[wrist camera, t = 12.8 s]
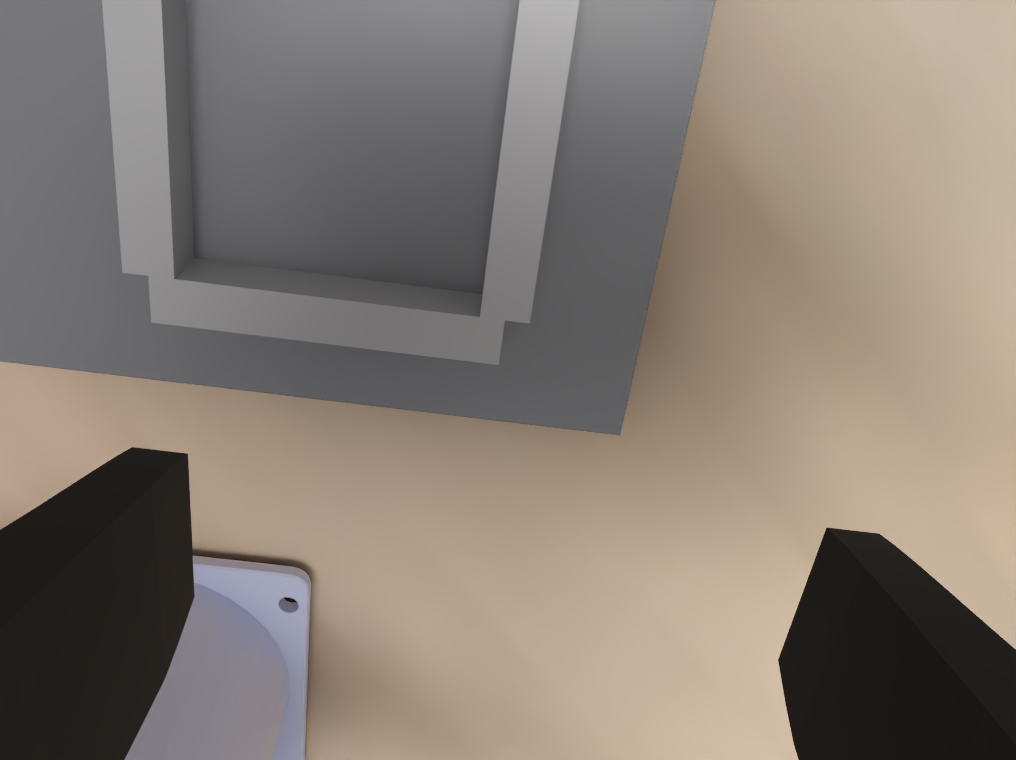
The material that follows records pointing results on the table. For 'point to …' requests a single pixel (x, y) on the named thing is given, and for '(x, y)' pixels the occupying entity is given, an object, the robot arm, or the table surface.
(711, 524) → the table surface
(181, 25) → the dock board
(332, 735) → the table surface
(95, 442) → the table surface
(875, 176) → the table surface
